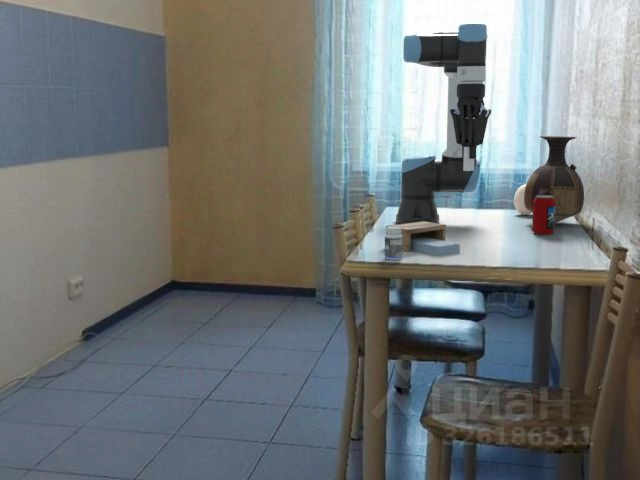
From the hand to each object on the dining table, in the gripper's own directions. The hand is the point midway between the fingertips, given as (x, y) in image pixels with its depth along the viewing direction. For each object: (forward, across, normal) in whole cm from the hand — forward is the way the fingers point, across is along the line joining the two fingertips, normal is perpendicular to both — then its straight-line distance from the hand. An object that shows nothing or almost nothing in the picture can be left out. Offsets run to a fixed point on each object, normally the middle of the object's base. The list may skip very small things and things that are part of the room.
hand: (468, 170), depth 209 cm
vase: (+24, -14, +59) cm, 65 cm away
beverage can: (+23, -4, +40) cm, 46 cm away
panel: (+23, -6, -8) cm, 25 cm away
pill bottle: (+22, -4, -24) cm, 33 cm away
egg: (+25, -35, +71) cm, 83 cm away
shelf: (+23, -13, -7) cm, 27 cm away
